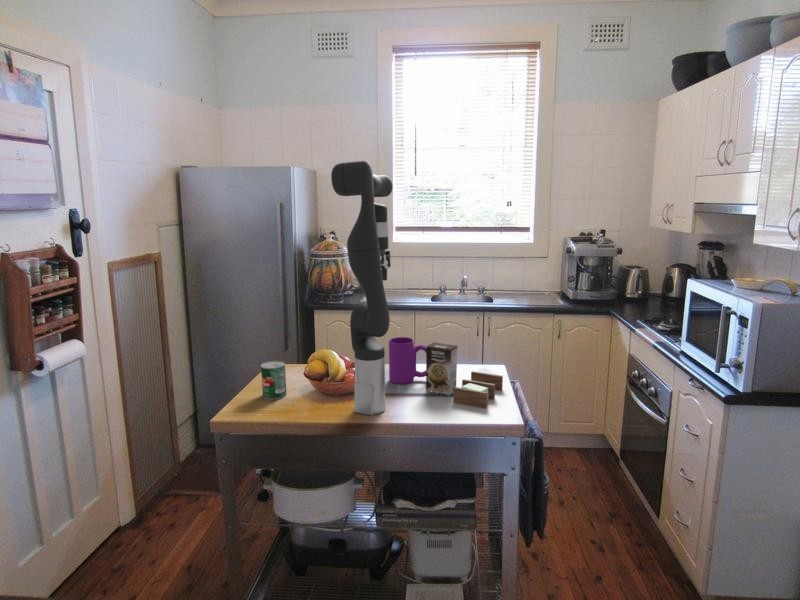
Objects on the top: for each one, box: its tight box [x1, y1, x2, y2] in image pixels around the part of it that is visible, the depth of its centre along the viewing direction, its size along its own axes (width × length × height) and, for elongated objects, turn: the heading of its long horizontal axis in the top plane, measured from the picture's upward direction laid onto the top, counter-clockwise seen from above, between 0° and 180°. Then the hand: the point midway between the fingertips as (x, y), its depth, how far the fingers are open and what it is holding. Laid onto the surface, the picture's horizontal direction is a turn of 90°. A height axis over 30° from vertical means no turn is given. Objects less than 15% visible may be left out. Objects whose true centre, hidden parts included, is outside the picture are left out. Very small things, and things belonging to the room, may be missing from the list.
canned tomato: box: [260, 360, 287, 401], centre depth 176 cm, size 8×8×11 cm
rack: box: [452, 370, 504, 409], centre depth 174 cm, size 18×11×5 cm, turn 153°
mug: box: [388, 336, 426, 385], centre depth 189 cm, size 9×16×15 cm, turn 90°
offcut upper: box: [461, 383, 488, 392], centre depth 170 cm, size 5×7×2 cm, turn 48°
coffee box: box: [425, 341, 458, 396], centre depth 178 cm, size 9×6×16 cm
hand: (378, 282), depth 183 cm, fingers open, 8 cm apart
